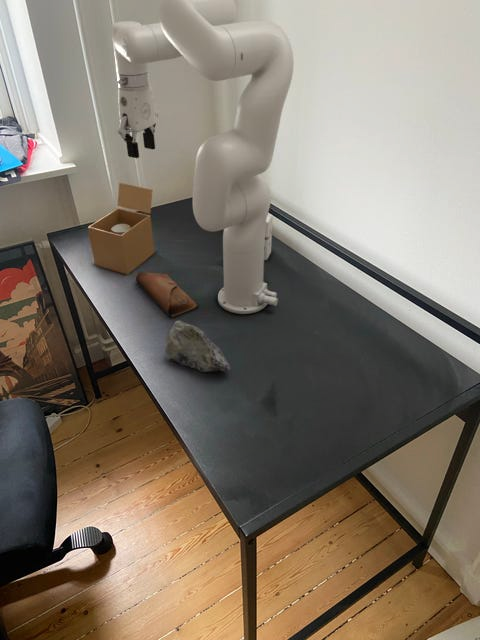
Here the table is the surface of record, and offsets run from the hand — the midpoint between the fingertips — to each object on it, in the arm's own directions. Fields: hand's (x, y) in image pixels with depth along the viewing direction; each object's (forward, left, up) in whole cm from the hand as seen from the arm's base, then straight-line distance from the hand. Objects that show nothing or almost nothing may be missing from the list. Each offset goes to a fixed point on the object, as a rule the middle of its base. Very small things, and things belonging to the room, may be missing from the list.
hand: (141, 152), depth 137 cm
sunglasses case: (-20, +23, -26) cm, 40 cm away
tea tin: (0, +13, -25) cm, 28 cm away
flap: (0, +6, -11) cm, 12 cm away
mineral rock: (-40, +42, -26) cm, 64 cm away
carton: (0, +13, -26) cm, 29 cm away
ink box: (-31, -5, -26) cm, 41 cm away
